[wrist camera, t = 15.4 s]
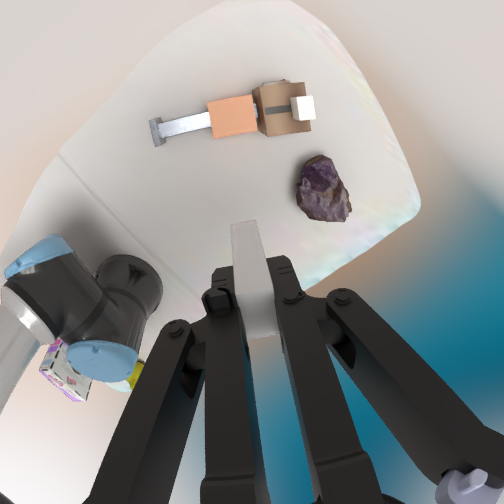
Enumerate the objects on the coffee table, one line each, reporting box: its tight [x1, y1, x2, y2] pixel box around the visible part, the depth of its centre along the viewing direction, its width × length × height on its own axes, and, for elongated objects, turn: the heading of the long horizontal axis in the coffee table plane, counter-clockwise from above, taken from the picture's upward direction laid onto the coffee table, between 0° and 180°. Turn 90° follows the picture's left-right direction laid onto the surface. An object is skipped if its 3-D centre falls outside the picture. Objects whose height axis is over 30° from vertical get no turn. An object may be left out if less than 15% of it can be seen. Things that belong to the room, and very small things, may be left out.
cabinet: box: [252, 79, 311, 137], centre depth 37 cm, size 6×8×10 cm
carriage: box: [207, 94, 258, 139], centre depth 38 cm, size 6×5×9 cm
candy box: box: [39, 337, 93, 401], centre depth 57 cm, size 14×6×16 cm, turn 17°
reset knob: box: [290, 96, 316, 121], centre depth 31 cm, size 2×3×4 cm, turn 9°
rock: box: [296, 155, 352, 222], centre depth 46 cm, size 12×9×10 cm
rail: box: [149, 103, 258, 147], centre depth 40 cm, size 18×4×4 cm, turn 99°
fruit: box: [126, 362, 144, 390], centre depth 64 cm, size 7×7×12 cm
